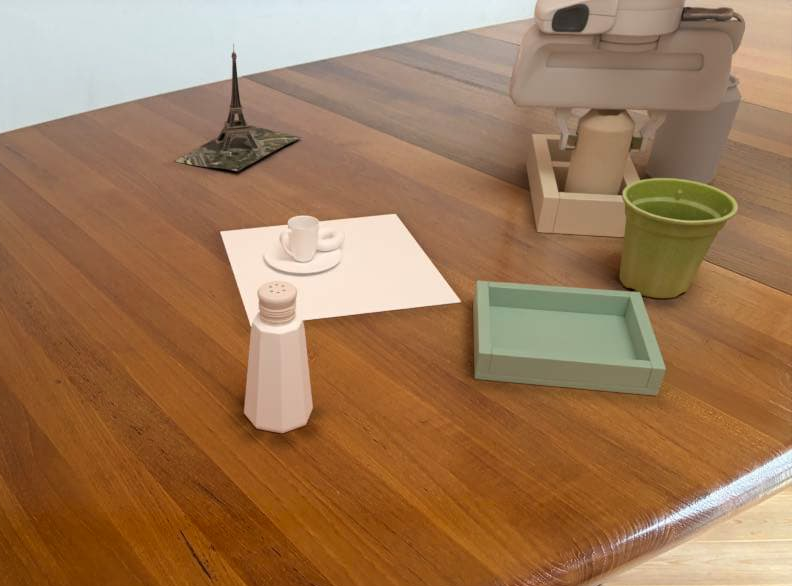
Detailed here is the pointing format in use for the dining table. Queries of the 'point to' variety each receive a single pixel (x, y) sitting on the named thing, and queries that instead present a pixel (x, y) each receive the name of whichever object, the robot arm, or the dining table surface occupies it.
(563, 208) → the holder
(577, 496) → the dining table surface
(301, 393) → the pepper shaker
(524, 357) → the tray
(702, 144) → the can
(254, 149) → the eiffel tower figurine
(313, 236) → the teacup and saucer
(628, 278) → the plant pot
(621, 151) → the candle
